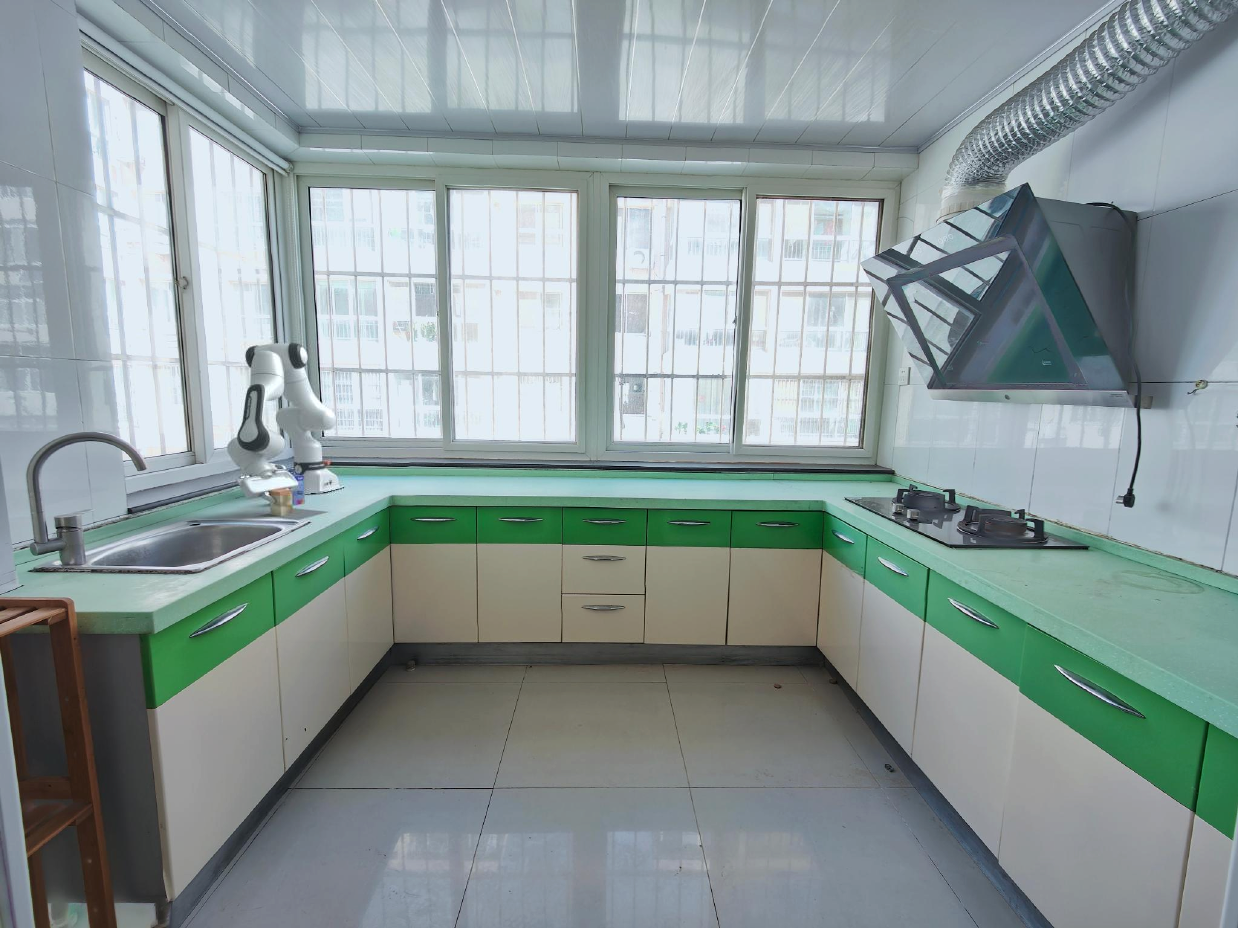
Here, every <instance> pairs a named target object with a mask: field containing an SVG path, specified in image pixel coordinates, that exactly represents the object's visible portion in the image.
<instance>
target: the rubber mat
mask: <svg viewBox="0 0 1238 928" xmlns="http://www.w3.org/2000/svg"><path fill="white" fill-rule="evenodd" d="M325 513H328V511H324V510H314V509H304V508H294V507H293V513H291V514H287V515H283V516H278V515H271V512H270V513H265V514H261V515H259V517H267V518H277V519H285V520H288V519H289V520H296V521H299V520H303V519H308V518H312V517H314V516H315V517H316V516H319V515H322V514H325Z"/></svg>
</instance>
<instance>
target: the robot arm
mask: <svg viewBox="0 0 1238 928" xmlns="http://www.w3.org/2000/svg"><path fill="white" fill-rule="evenodd" d="M244 356H245V357H244V358H245V361H246V364H247V366H248V368H250V380H249V387H248V388H247V391H246V394H245V399H244V407H243V414H242V421H241V424H240V426H239V429H238V432H237V433H236V434H237V435H236V437H233V438H232V439H231V440H230V441H229V442H228V444H227V445H226V451H227V454H228V456H229V458H231V460H232V461H233V462H232V463H234V464H235V466H236V467H237V468H239V469H240V470H241V472H242V474H243V475H241V476H238V477H237V478H236V480H235V481H236V483H237V485H238V486H239V489H240V491H241V492H242V494H243V495H244V497H245V498H247V499H249V500H251V499H256V498H262V499H264V500H265V501H267V502H269V504H270V503H271V504H275V503H276V502H277V500H276V498H275V497H274V498H273V497H271V496H270V495H269V491H273V490H279V489H290V490H292V491H293V490H295V489H296V488H297V486H298V482H297V480H296V479H295V478H294V477H293V475H292V474H291V473H290V472H291V471H289V472H288V470H287V467H286V466H285V465H284V464H277V463H272V462H268V460H272V459H273V458H275V457H277V456H279V455H280V454H282V453H283V451H284V449H285V446H286V441H285V437H283V435H282V434H280V433H277V432H275V431H273V430H271V429H268V428H267V427H266V424H265V423H264V419H265V409H266V403H267V402H269V401H274V400H275V401H276V400H277V399H279V398H280V397H282V395H283V398H285V400H287V401H288V402H290V403H292V404H294V406H293V405H292V406H286V407H282V408H279V409H278V410H277V412H276V414H275V423H276V424H277V426H278V427H279V428H280V429H281V430H283V431H284V432H285V433H286V434H287V435H288V437H289V439H290V441H291V444H292V449H293V457H294V458H293V459H294V462H293V466H292V467H293V469H296V470H295V473H294V475H304V495H312V494H311V493H316V494H324V493H323V492H327V491H331V490H335V489H337V488H341V487H345V485H342V484H341V485H342V486H339V485H340V481H339V478H338V476H337V475H336V473H333V472H332V471H330V470H329V469H328V468H327V466H330V463H331V461H330V460H325V461H324V460H323V450H322V447H323V446H322V444H321V442H320V441H318V440H317V439H315V438H314V437H313V435H312V434H311V432H325V431H329V430H332V429H333V428H334V427H335V426H336V423H337V416H336V414H335V412H334V410H332V409H331V408H329V407H327V406H326V405H324V404H323V403H322V402H321V401H320V400H319V399H318V397H317V396H316V394H315V393H314V391H313V389H312V386H311V383H310V381H309V377H308V374H307V372H306V369H305V367H306V366H307V364H308V362H309V361H308V353H307V351H306V348H305V347H304V346H303V345H302V344H301V343H297V342H289V343H287V342H285V343H284V342H279V343H278V342H276V343H274V342H273V343H267V344H262V345H258V344H255V345H252V346H249V347H248V348H247V349H246V351H245V354H244ZM335 491H336V490H335Z"/></svg>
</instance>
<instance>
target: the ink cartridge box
mask: <svg viewBox="0 0 1238 928" xmlns="http://www.w3.org/2000/svg"><path fill="white" fill-rule="evenodd" d="M295 470H296V469H294V468H289V469H288V470H287V471H288V472H290V473H291V474H292V475H293V477H294V478H295V479H296V480H297V482H298V486H297V488H296V489H295V490H293V491H292V505H293V506H298V505H303V504H305V503H306V502H305V501H306V499H305V498H306V497H305V494H304V475H295Z"/></svg>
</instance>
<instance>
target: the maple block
mask: <svg viewBox="0 0 1238 928" xmlns="http://www.w3.org/2000/svg"><path fill="white" fill-rule="evenodd" d="M269 495H270V496H271V497H273V498H274V497H275V498H276V500H277V502H276V503H275V504H271V503H270V502H269V508H270V511H269V512H270V513H271V515H278V516H283V515H287V514H291V513H293V508H294V507H293V505H292V490H290V489H279V490H273V491H269Z"/></svg>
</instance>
